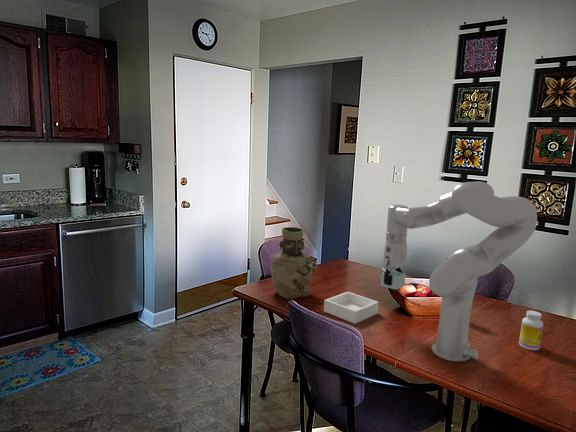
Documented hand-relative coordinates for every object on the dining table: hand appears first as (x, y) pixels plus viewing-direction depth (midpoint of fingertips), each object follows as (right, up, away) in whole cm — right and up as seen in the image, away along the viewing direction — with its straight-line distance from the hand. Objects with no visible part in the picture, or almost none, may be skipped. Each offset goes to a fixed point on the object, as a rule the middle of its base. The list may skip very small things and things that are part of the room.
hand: (392, 282), depth 167 cm
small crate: (0, -1, 0) cm, 1 cm away
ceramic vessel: (-39, -10, +33) cm, 52 cm away
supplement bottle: (+47, -22, -11) cm, 53 cm away
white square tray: (-14, -15, +13) cm, 24 cm away
